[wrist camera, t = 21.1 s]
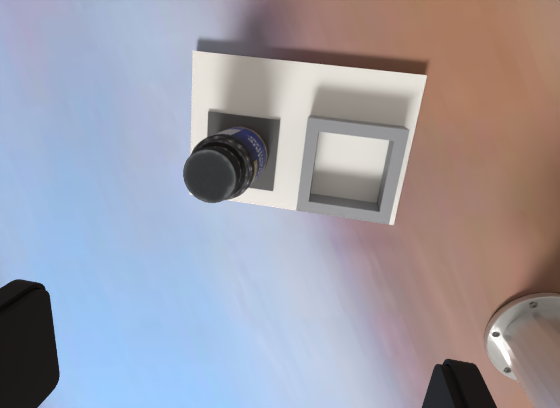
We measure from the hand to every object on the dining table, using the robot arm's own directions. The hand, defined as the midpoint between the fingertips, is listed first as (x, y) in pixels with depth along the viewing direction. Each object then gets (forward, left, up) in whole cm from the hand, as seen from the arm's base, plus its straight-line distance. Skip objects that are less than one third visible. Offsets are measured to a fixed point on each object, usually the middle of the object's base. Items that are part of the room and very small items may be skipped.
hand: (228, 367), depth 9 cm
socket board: (+2, 0, -34) cm, 34 cm away
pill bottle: (+8, +2, -33) cm, 34 cm away
